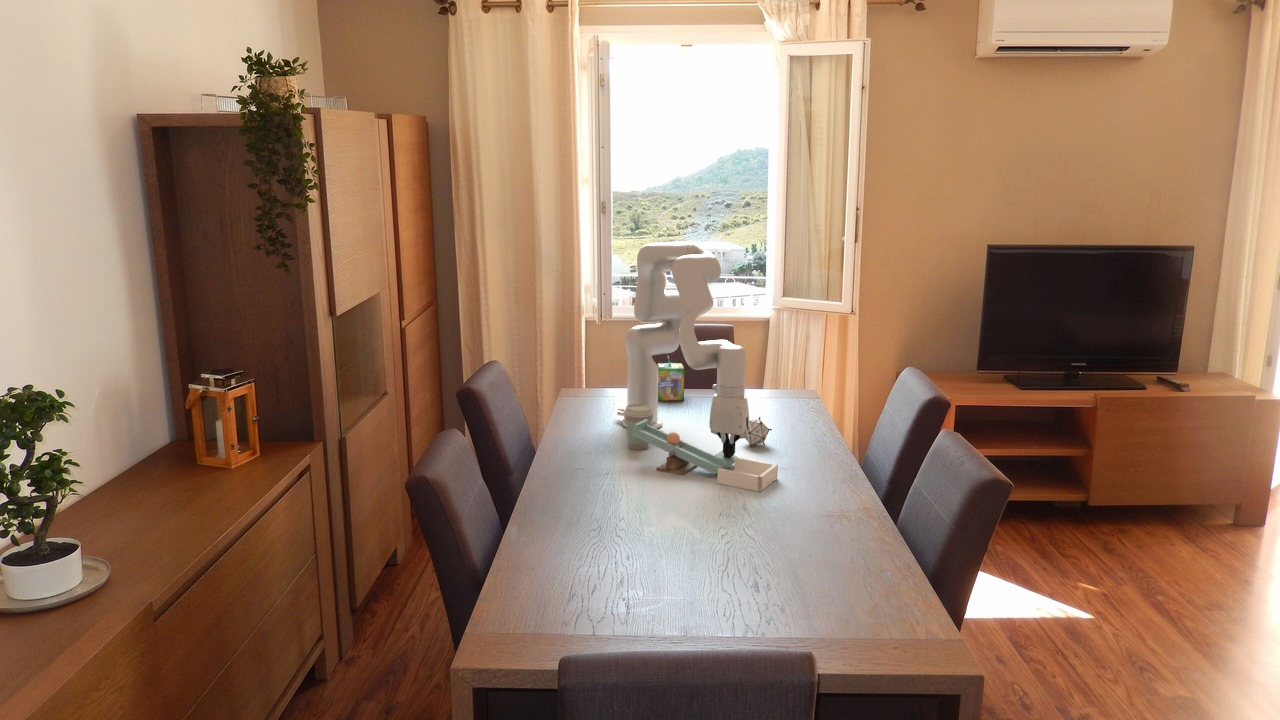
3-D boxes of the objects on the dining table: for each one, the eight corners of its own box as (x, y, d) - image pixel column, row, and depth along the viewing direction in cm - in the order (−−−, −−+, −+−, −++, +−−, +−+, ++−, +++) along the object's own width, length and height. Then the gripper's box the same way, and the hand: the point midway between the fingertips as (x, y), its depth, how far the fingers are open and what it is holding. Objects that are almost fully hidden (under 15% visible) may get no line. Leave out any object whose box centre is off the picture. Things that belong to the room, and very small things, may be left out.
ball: (674, 449, 255) (663, 444, 256) (680, 445, 258) (669, 441, 259) (677, 436, 254) (665, 432, 255) (683, 433, 257) (671, 429, 258)
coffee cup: (654, 443, 278) (655, 403, 276) (651, 452, 270) (652, 411, 267) (625, 441, 279) (626, 402, 276) (622, 450, 271) (622, 410, 268)
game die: (760, 458, 278) (773, 438, 271) (733, 448, 277) (746, 427, 270) (763, 436, 284) (777, 416, 277) (737, 426, 284) (750, 405, 277)
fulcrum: (656, 469, 255) (656, 456, 254) (673, 459, 264) (673, 446, 263) (682, 475, 251) (682, 461, 250) (699, 464, 260) (699, 451, 259)
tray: (717, 483, 246) (717, 468, 245) (735, 470, 256) (735, 456, 255) (760, 492, 240) (760, 477, 239) (777, 479, 250) (777, 464, 249)
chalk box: (684, 401, 325) (685, 359, 321) (657, 401, 325) (658, 358, 321) (682, 394, 334) (683, 353, 330) (656, 394, 334) (657, 353, 330)
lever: (629, 436, 258) (632, 425, 257) (656, 423, 271) (659, 412, 270) (713, 477, 247) (717, 465, 246) (737, 460, 260) (741, 449, 259)
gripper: (699, 390, 255) (698, 455, 259) (751, 397, 248) (748, 464, 252) (711, 385, 262) (709, 448, 265) (761, 391, 255) (759, 456, 258)
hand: (728, 456), depth 259 cm, fingers closed
